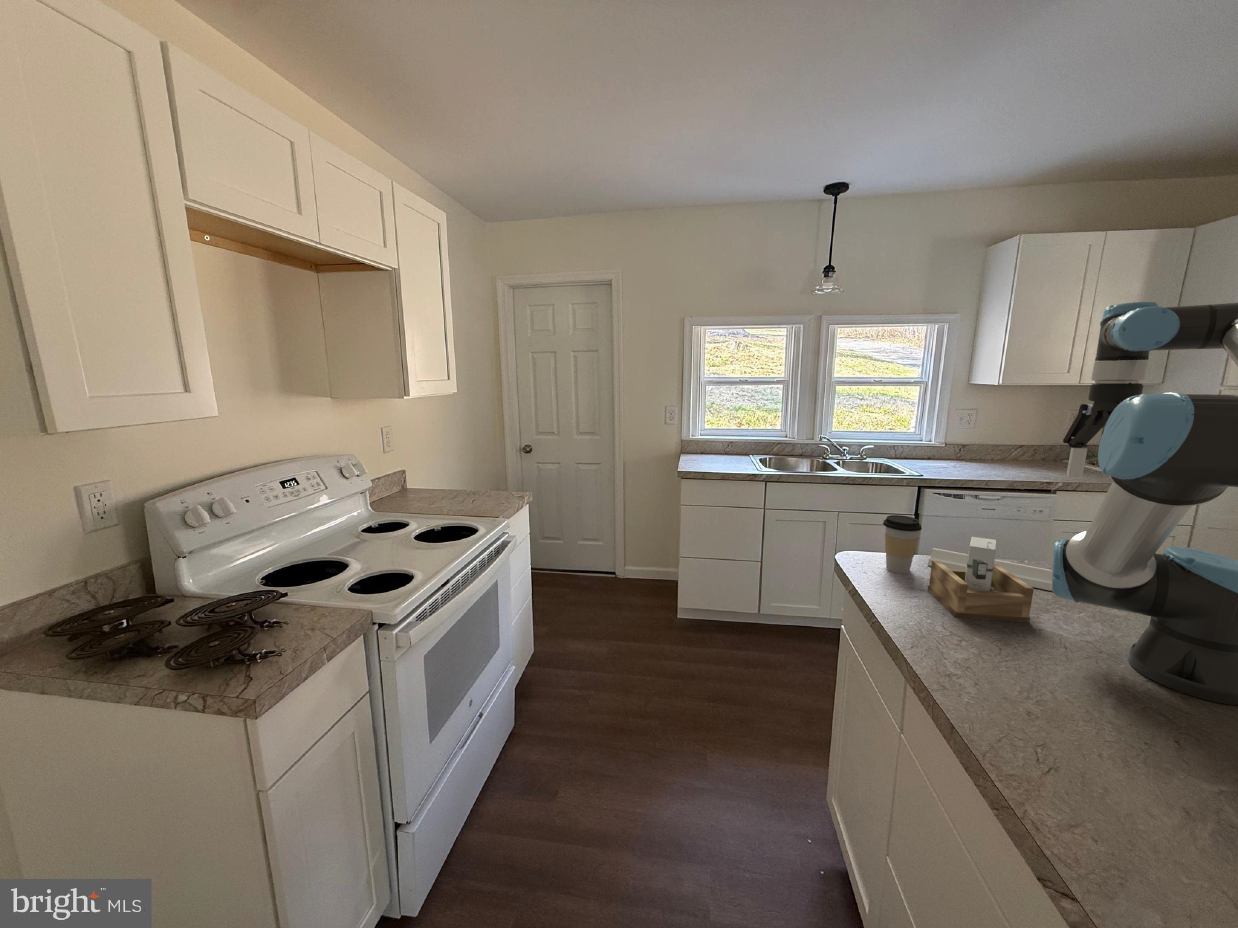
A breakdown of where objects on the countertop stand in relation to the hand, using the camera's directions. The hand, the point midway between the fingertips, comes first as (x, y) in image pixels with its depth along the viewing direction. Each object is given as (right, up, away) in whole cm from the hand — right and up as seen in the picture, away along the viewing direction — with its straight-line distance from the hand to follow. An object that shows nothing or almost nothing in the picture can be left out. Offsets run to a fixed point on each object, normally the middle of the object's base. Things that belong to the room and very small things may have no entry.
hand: (1098, 483), depth 100 cm
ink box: (-17, -26, +12) cm, 33 cm away
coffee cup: (-23, -26, +34) cm, 49 cm away
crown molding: (+3, -27, +31) cm, 41 cm away
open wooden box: (-16, -30, +13) cm, 37 cm away
